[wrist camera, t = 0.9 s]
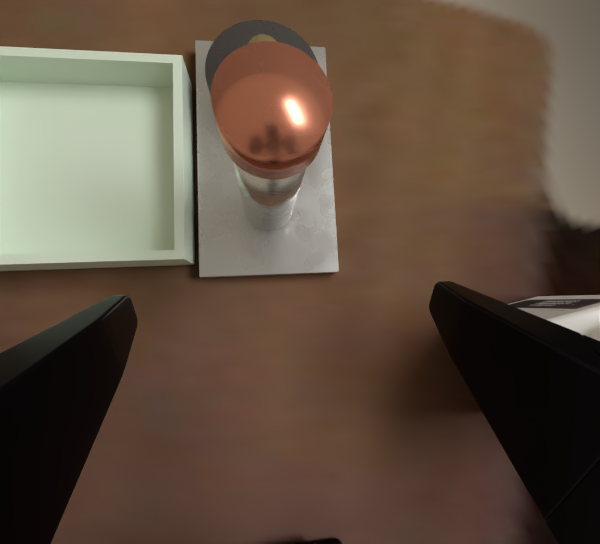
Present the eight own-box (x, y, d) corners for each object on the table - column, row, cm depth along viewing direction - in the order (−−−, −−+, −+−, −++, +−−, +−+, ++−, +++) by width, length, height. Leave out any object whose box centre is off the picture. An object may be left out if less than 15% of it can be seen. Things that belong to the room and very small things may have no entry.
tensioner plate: (335, 273, 23) (354, 265, 18) (202, 278, 22) (184, 271, 17) (322, 57, 25) (337, -3, 20) (198, 51, 24) (181, -15, 19)
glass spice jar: (298, 234, 22) (336, 156, 10) (240, 235, 22) (212, 155, 10) (295, 179, 23) (329, 44, 11) (238, 179, 22) (209, 37, 10)
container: (454, 316, 24) (669, 331, 11) (537, 295, 25) (820, 288, 12) (479, 413, 24) (735, 545, 11) (563, 388, 25) (887, 480, 12)
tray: (195, 264, 22) (184, 258, 19) (-19, 271, 20) (-67, 266, 18) (192, 86, 24) (182, 55, 21) (-9, 79, 22) (-52, 43, 19)
